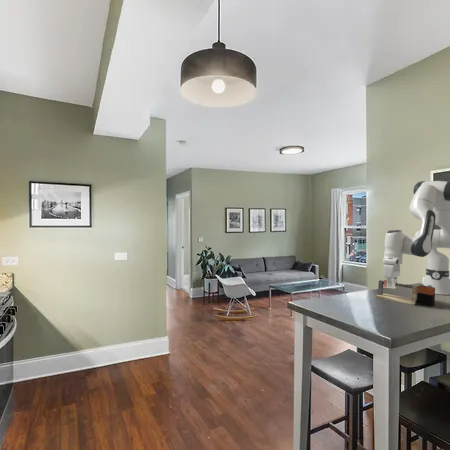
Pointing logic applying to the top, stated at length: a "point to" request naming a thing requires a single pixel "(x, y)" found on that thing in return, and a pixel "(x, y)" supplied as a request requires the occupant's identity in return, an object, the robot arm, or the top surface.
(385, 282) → the rod stand
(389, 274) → the robot arm
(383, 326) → the top surface
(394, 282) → the marker sleeve
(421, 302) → the battery
